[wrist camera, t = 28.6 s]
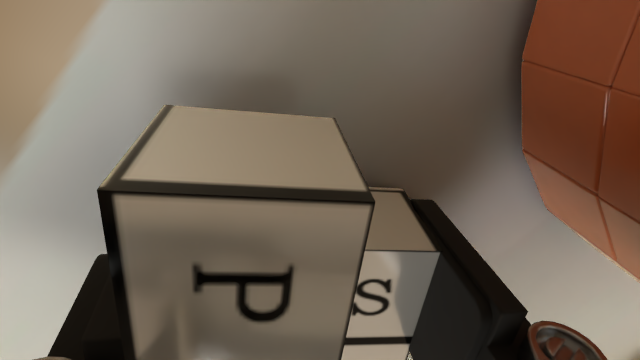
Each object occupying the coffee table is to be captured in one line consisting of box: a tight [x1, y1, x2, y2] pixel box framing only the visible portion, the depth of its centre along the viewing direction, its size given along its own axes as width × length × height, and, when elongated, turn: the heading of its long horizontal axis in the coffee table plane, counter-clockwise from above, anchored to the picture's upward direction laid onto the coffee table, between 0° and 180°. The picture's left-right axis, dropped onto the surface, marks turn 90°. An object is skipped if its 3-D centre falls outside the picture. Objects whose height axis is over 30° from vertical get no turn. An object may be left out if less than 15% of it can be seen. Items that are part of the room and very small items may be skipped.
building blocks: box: [97, 105, 443, 360], centre depth 8 cm, size 5×5×8 cm
